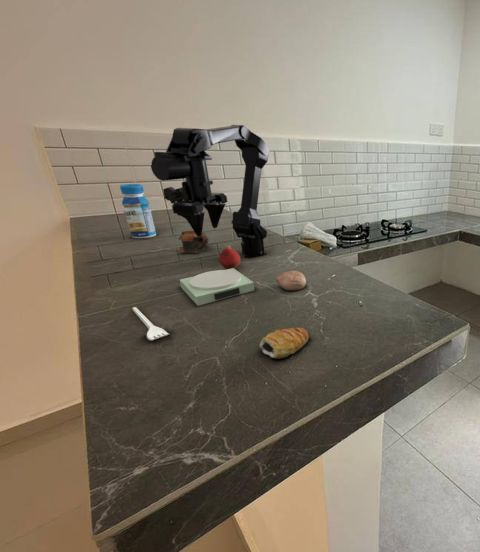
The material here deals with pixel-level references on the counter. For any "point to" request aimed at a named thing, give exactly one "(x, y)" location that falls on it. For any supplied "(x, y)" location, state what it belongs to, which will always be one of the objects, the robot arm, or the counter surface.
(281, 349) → the pastry
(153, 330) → the fork
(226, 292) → the scale
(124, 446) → the counter surface
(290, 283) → the pink oval lump
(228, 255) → the onion
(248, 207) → the robot arm
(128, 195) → the beverage bottle
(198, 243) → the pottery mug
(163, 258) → the counter surface
